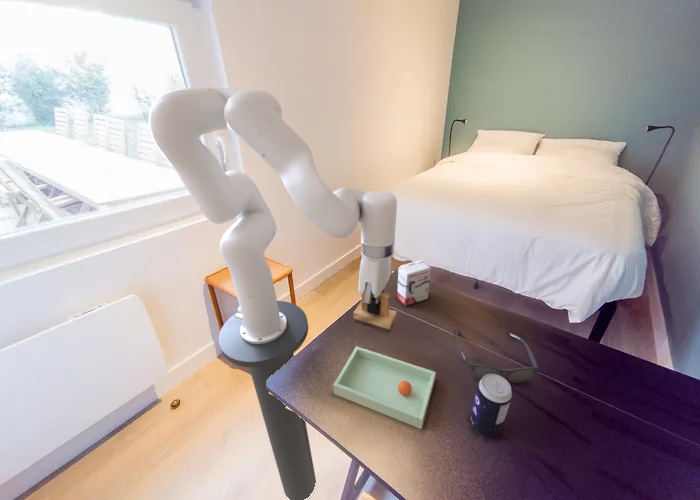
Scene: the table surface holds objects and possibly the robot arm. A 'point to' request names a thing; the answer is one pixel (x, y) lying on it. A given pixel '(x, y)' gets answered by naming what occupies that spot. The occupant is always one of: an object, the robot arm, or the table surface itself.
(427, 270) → the ink box
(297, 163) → the robot arm
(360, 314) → the brush
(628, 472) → the table surface
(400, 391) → the crumb ball
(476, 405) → the beverage can
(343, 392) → the tray
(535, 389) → the table surface
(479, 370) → the sunglasses
